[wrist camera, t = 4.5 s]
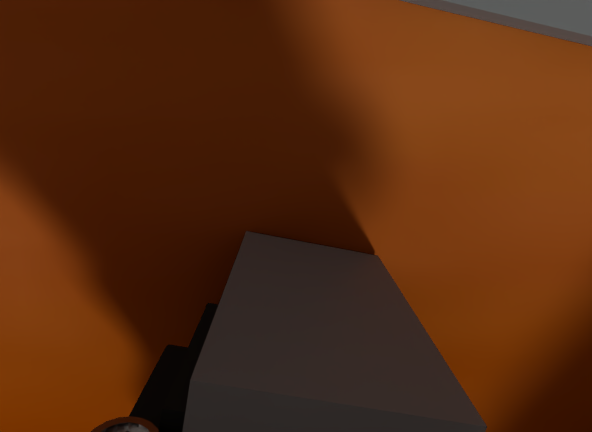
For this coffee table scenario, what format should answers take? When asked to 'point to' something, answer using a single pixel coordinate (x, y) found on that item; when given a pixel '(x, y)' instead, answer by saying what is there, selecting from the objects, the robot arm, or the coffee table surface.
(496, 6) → the slate board
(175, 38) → the coffee table surface
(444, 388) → the block
